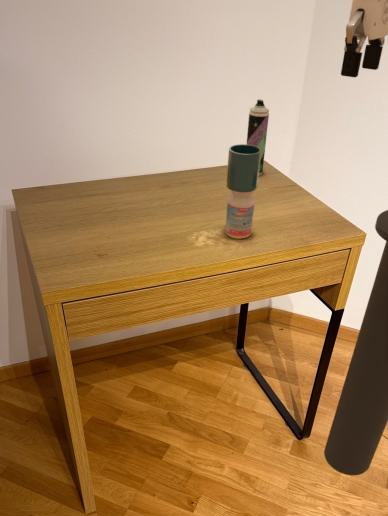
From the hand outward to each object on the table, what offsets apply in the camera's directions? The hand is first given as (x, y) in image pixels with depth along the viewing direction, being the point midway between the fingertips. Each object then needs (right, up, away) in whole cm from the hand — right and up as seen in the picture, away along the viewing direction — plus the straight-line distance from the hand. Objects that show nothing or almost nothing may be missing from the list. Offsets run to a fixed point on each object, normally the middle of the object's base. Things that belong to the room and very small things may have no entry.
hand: (359, 72), depth 95 cm
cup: (-21, -18, +13) cm, 31 cm away
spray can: (-14, -1, +52) cm, 54 cm away
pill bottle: (-22, -27, +20) cm, 40 cm away
